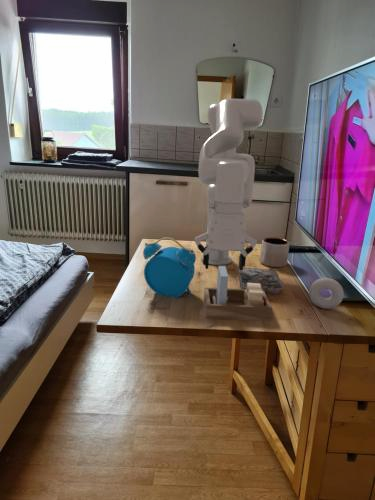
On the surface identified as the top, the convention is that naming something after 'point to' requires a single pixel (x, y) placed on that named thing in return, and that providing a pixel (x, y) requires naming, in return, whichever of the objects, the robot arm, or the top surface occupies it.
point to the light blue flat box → (222, 285)
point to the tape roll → (326, 284)
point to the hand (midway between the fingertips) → (223, 267)
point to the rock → (261, 279)
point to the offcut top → (254, 291)
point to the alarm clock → (169, 268)
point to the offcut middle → (253, 302)
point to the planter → (274, 252)
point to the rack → (235, 306)
